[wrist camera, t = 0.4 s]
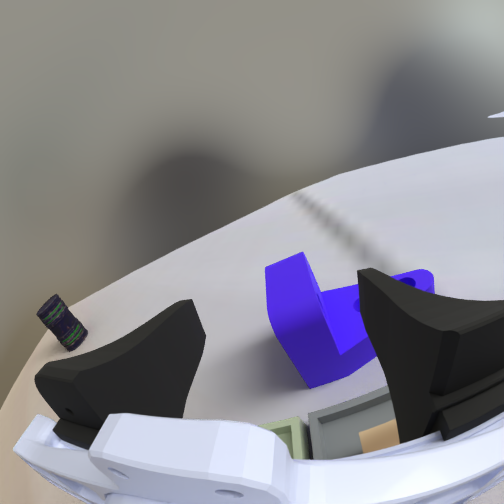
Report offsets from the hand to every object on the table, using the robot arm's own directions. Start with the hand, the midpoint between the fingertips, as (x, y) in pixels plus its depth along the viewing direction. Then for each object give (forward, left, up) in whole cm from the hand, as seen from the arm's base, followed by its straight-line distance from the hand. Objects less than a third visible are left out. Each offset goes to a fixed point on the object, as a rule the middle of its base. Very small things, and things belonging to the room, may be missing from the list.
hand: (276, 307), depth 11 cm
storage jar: (+39, +71, -20) cm, 83 cm away
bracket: (+14, -5, -20) cm, 25 cm away
